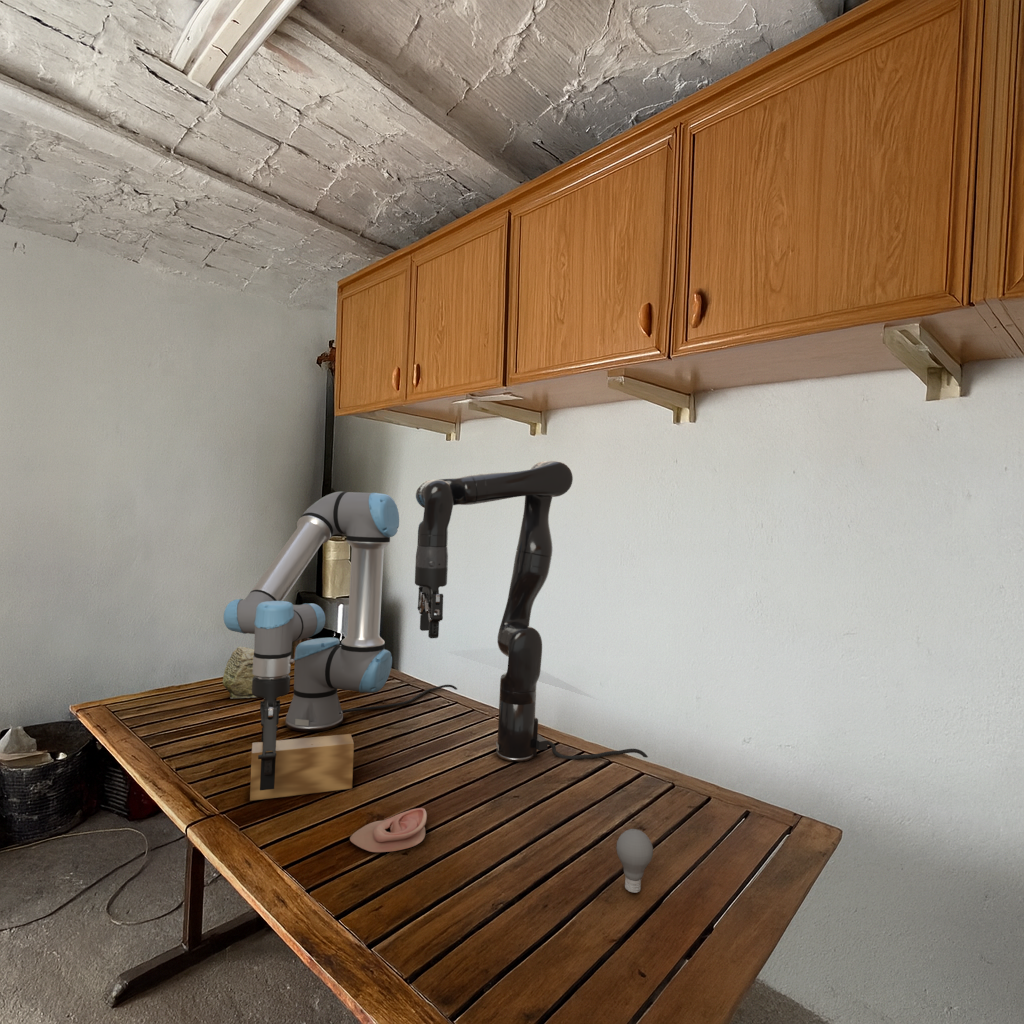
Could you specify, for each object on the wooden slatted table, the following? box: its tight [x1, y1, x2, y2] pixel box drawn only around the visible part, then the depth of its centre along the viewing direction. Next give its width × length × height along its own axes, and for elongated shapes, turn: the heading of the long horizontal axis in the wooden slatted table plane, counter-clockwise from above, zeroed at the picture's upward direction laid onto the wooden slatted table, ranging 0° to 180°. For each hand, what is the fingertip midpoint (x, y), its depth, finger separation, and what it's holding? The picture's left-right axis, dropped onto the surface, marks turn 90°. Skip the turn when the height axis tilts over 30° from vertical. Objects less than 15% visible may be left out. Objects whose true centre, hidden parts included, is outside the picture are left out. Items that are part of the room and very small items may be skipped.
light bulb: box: [615, 828, 654, 894], centre depth 106 cm, size 6×6×10 cm
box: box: [249, 733, 355, 802], centre depth 137 cm, size 21×6×10 cm, turn 111°
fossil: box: [222, 646, 257, 699], centre depth 198 cm, size 9×18×15 cm, turn 132°
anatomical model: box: [349, 807, 428, 853], centre depth 119 cm, size 13×4×12 cm
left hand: (266, 775), depth 134 cm, fingers open, 13 cm apart
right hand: (428, 634), depth 148 cm, fingers open, 8 cm apart
